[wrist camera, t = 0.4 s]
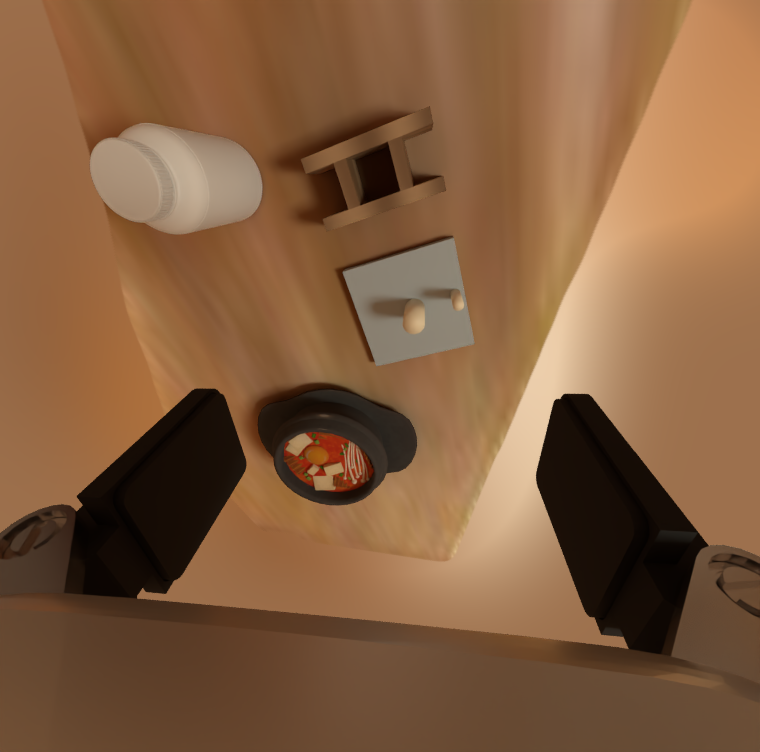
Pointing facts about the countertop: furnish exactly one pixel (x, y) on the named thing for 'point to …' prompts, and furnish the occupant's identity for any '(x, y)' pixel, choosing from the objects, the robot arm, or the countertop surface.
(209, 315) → the countertop surface
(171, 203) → the pill bottle
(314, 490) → the black low round piece
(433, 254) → the base
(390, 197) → the wooden h-shaped stand
